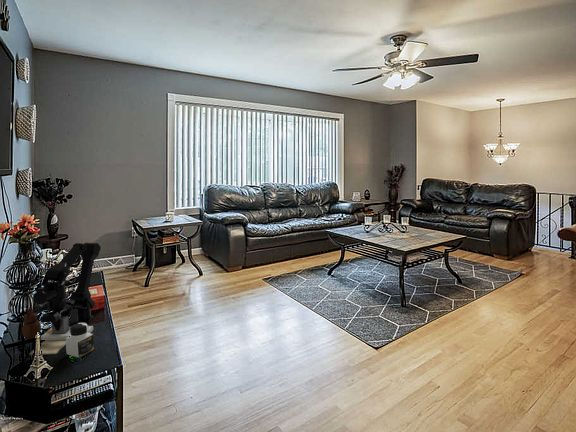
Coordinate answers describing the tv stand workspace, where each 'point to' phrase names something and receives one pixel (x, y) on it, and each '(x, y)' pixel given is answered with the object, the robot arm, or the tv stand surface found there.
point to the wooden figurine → (30, 325)
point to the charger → (62, 326)
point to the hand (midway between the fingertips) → (60, 328)
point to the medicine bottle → (79, 340)
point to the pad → (51, 347)
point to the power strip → (59, 335)
